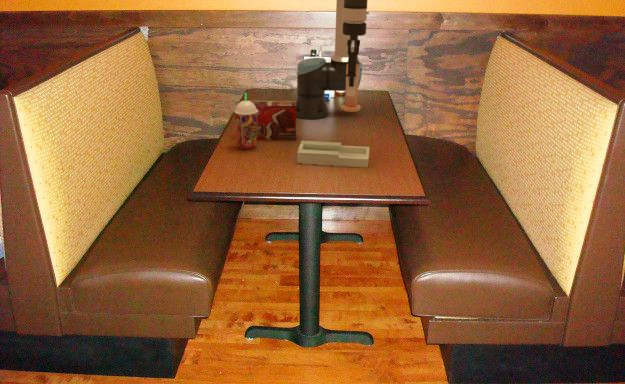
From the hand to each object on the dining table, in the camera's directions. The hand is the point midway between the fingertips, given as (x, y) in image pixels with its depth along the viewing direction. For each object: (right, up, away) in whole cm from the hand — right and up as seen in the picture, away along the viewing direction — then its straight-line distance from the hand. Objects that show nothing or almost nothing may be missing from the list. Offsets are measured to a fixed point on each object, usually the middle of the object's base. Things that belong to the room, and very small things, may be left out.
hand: (351, 94), depth 194 cm
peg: (0, -5, +2) cm, 5 cm away
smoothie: (-37, -17, +17) cm, 44 cm away
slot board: (-6, -21, +8) cm, 23 cm away
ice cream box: (-29, -12, +27) cm, 42 cm away
